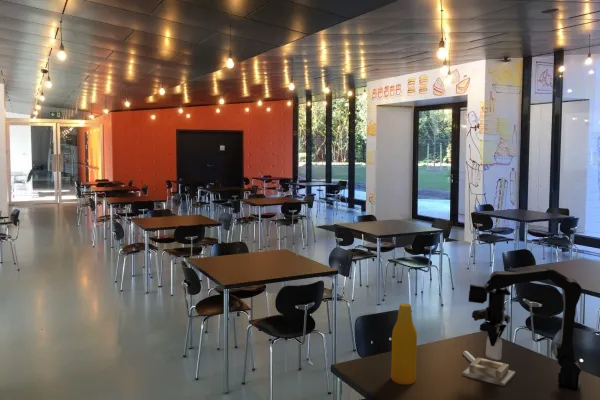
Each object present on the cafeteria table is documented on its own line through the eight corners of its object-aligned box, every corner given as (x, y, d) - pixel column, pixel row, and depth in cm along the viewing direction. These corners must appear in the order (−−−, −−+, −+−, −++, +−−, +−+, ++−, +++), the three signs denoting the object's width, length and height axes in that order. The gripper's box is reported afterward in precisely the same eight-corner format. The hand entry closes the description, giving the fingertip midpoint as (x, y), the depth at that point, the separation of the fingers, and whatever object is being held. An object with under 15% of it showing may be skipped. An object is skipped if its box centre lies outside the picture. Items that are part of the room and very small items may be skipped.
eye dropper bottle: (491, 360, 201) (493, 329, 200) (484, 355, 207) (486, 325, 206) (502, 360, 202) (504, 329, 201) (494, 354, 208) (496, 324, 207)
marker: (463, 354, 230) (478, 369, 214) (459, 352, 230) (474, 366, 214) (466, 349, 230) (481, 363, 214) (462, 347, 230) (477, 361, 214)
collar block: (515, 374, 207) (515, 364, 207) (504, 386, 196) (505, 375, 196) (474, 364, 217) (474, 354, 216) (462, 375, 206) (462, 365, 205)
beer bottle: (386, 376, 204) (388, 302, 201) (407, 373, 207) (409, 300, 204) (399, 386, 195) (401, 309, 193) (420, 383, 198) (422, 306, 196)
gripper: (482, 296, 215) (480, 333, 216) (467, 306, 200) (464, 346, 201) (511, 301, 208) (509, 339, 210) (497, 311, 193) (494, 353, 195)
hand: (494, 344), depth 204 cm, fingers closed on eye dropper bottle, 4 cm apart
